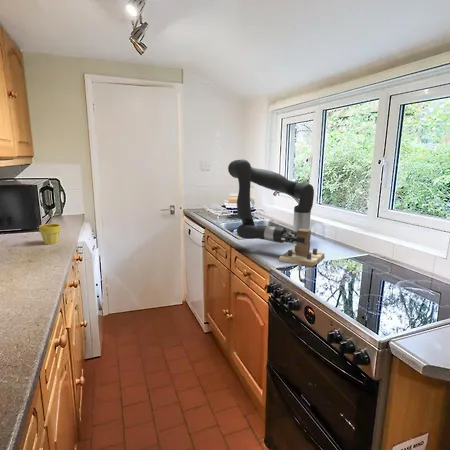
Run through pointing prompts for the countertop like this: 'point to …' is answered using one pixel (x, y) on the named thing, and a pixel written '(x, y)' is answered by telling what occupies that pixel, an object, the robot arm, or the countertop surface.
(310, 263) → the wooden peg board
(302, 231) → the walnut block
